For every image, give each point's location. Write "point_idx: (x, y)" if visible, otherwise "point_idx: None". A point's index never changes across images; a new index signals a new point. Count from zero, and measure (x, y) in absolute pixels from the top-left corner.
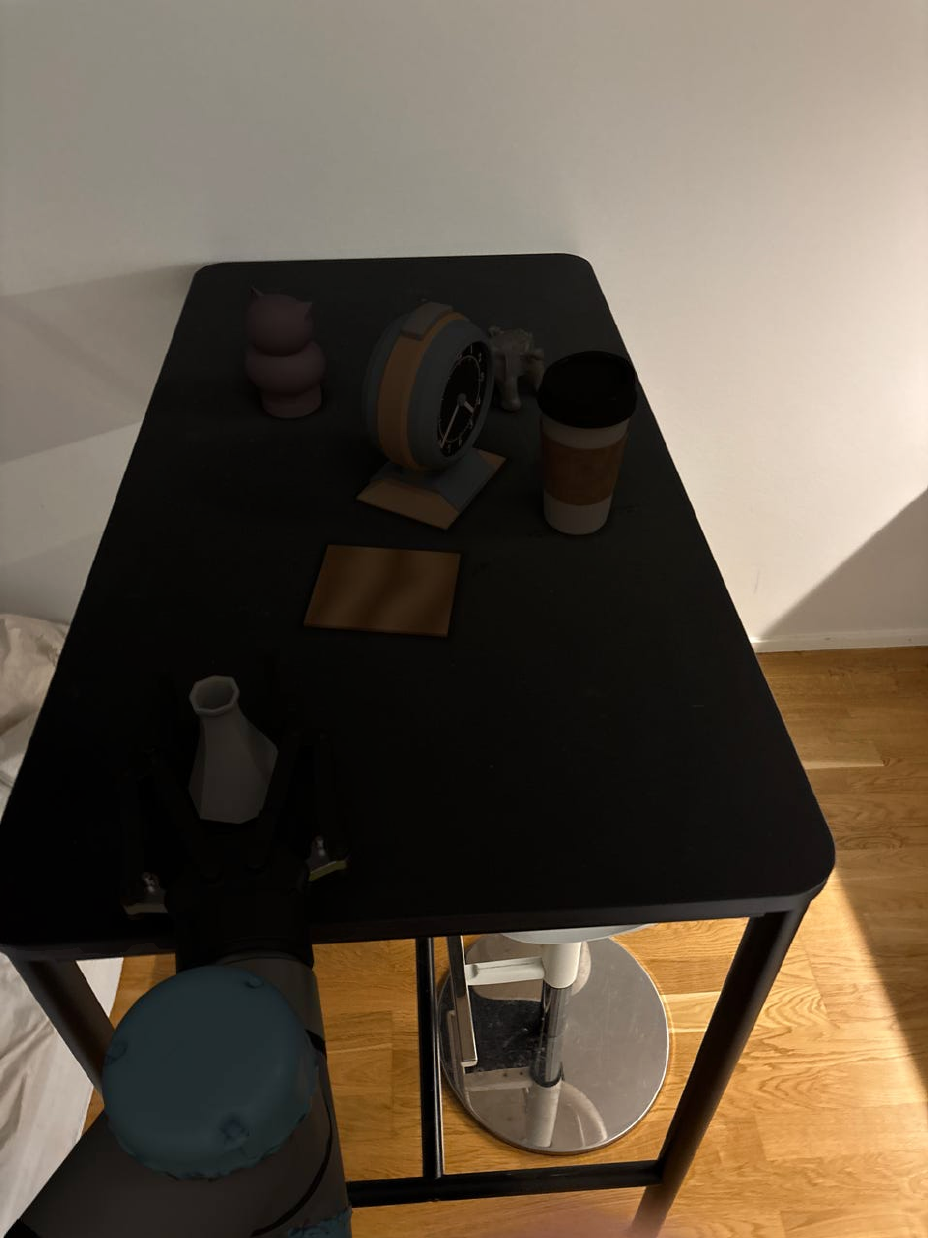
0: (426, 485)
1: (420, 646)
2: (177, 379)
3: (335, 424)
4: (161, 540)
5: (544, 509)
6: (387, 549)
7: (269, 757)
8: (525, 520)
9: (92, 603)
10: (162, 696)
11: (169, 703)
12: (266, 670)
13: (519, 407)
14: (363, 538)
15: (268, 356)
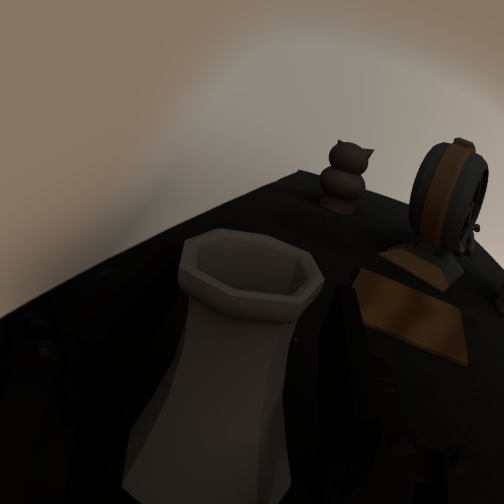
0: (432, 259)
1: (446, 368)
2: (275, 183)
3: (361, 223)
4: (234, 223)
5: (499, 301)
6: (407, 286)
7: (282, 460)
8: (487, 305)
9: (164, 231)
10: (149, 264)
11: (151, 276)
12: (344, 303)
13: (462, 253)
14: (386, 275)
15: (338, 170)
